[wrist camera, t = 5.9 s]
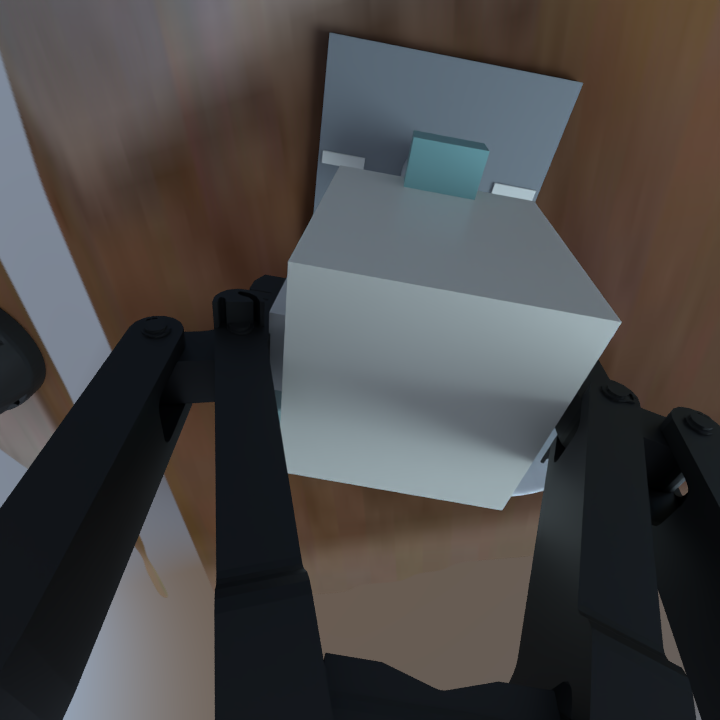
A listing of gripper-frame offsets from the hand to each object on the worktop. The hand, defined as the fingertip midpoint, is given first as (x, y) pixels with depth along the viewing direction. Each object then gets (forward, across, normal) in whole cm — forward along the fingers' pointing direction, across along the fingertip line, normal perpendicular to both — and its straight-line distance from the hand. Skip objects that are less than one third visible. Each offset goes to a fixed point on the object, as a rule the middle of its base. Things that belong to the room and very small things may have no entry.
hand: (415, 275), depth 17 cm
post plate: (+18, +1, 0) cm, 18 cm away
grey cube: (0, 0, 0) cm, 0 cm away
